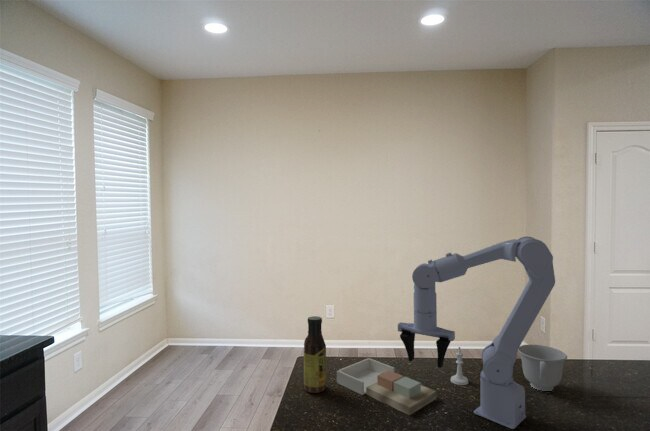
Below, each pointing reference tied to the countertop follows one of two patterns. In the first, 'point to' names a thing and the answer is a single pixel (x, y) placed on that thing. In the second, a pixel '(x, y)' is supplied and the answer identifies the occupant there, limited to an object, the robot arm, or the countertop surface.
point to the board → (401, 398)
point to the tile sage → (407, 387)
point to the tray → (361, 374)
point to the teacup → (542, 366)
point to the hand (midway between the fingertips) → (425, 363)
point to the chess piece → (459, 371)
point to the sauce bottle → (314, 357)
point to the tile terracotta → (388, 379)
